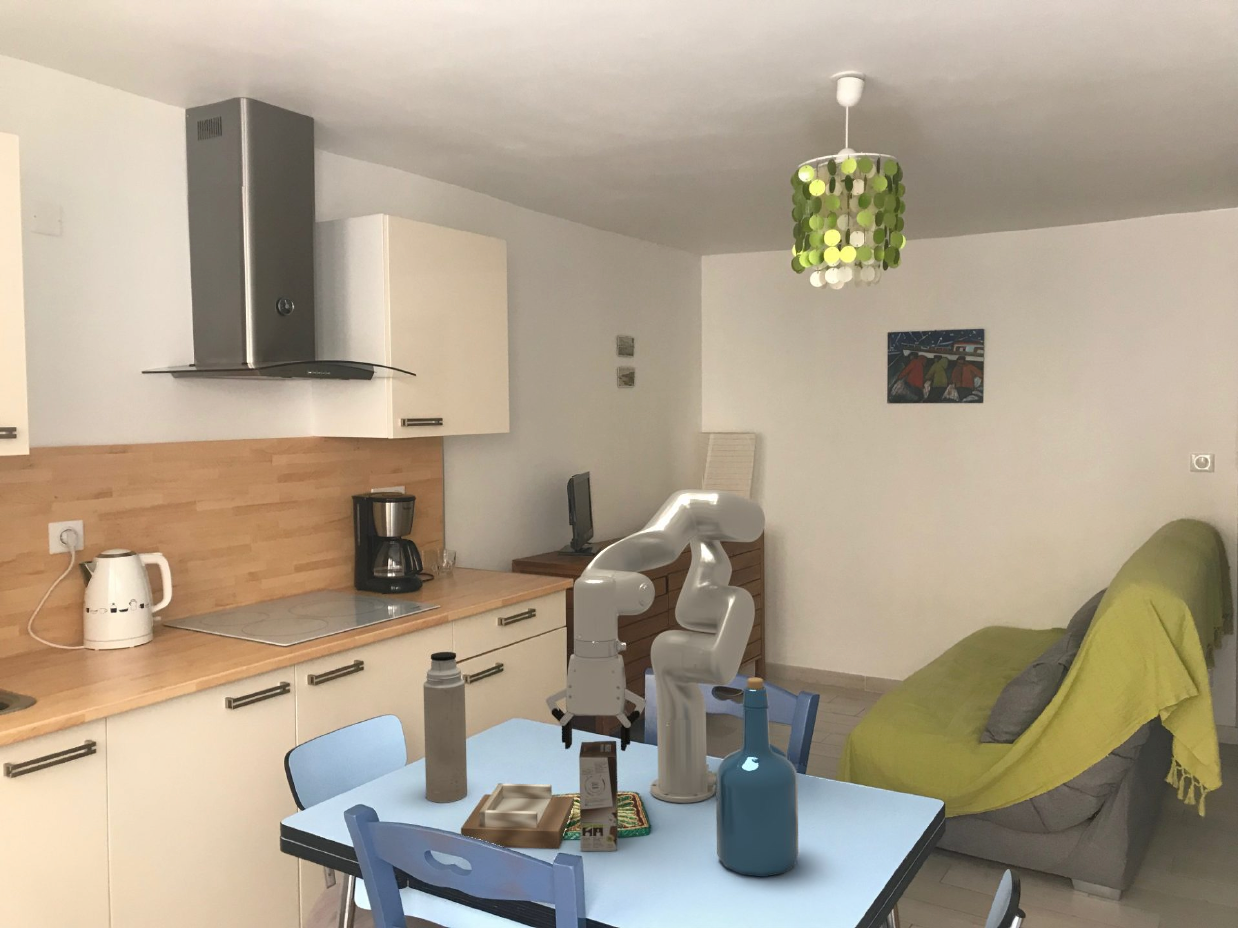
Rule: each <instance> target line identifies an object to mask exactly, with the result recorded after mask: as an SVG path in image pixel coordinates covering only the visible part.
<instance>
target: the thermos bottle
mask: <svg viewBox="0 0 1238 928" xmlns="http://www.w3.org/2000/svg"><path fill="white" fill-rule="evenodd" d="M456 658H457V653H456V652H453V651H439V652H435V653H432V654H430V659H431V662H430V665H431V666H430V668H429V669H428V670H427V671H426V677H425V679H426V681H425V682H423V720H424V722H423V724H424V725H423V726H424V727H423V728H424V759H425V760H424V764H425V765H424V766H425V767H424V769H425V799H426V800H428V801H430V802H433V803H439V804H440V803H442V804H443V803H451V802H457V801H460V800H462V799H464V798H465V797H467V795H468V777H467V776H468V772H467V771H468V770H467V768H468V767H467V766H468V765H467V729H466V728H467V725H466V724H467V723H466V721H467V720H466V717H467V716H466V681H465V680H464V679H463V678H462V674H463V673H462V669H461V668H459V667H458V666H457V660H456Z"/></svg>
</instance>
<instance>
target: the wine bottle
mask: <svg viewBox="0 0 1238 928" xmlns="http://www.w3.org/2000/svg"><path fill="white" fill-rule="evenodd" d="M741 708H742V709H743V710H742V711H743V715H742V746H741V747H740V748H739V749H738V750H735V751H732V752H730V753H729V754H727V755H726V756H725V757H724V758H723V760H722V761H721V763H720V764H719V766H718V768H717V770H716V772H715V773H716V785H715V806H716V807H715V808H716V809H715V811H716V813H715V814H716V817H715V818H716V820H715V821H716V854H717V857H718V860H719V861H720V862H721V863H722V864H723V867H725V868H727V869H729V870H731V871H734V872H735V873H739V874H741V875H749V876H756V877H757V876H758V877H764V876H774V875H781V874H784V873H785V872H787V871H789V870H791V869H793V868H794V867H795V866H796V863H797V860H798V855H799V799H798V796H799V795H798V793H799V792H798V791H799V787H798V785H799V784H798V773H797V770H796V767H795V766H794V764H793V763H792V762H791V760H789V759H787V758H788V757H787V754H786V753H785V752H784V751H782V750H781V749H779V748H777V747H776V746H774V745H772V744H770V741H771V740H770V727H769V724H770V723H769V708H770V705H769V696H768V689H767V687H766V686H765V685H764V679H763V678H761V677H749V678H748V679H747V681H746V685H745V686H744V687H743V695H742V705H741Z"/></svg>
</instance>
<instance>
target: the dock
mask: <svg viewBox="0 0 1238 928" xmlns="http://www.w3.org/2000/svg"><path fill="white" fill-rule="evenodd" d="M552 793H553V792H552V784H541V783H540V784H536V783H534V784H532V783H498V784H497V786H496V787H495V788H494V790H493V791H492V792H491V794H486V793H485V794H484V795H483V796H482V797H481V799H480V800H479V802H478V803H477V805H476V806H475V807H474V809H473V810H472V812H471V813H470V815H469V816H468V817H467V819H466V820H465V822H464V823H463V825H462V826H461V828H460V835H461V834H462V835H464V836H469V837H473V838H476V839H481V840H483V841H487V842H489V843H494V844H496V845H500V846H504V847H503V848H517V849H518V848H521V849H522V848H524V849H525V848H526V849H527V848H528V849H549V850H550V849H551V850H553V849H554V850H555V849H556V850H559V849H560V848H561V847H560V846H561V845H562V843H563V840H562V838H563V833H564V830H565V828H566V825H567V822H568V819H569V816H570V814H571V810H572V808H573V806H574V807H575V797H574V796H562V795H560V796H557V795H556V796H555V795H552ZM563 839H564V838H563Z"/></svg>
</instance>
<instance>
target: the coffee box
mask: <svg viewBox="0 0 1238 928" xmlns="http://www.w3.org/2000/svg"><path fill="white" fill-rule="evenodd" d="M617 754H618V753H617V740H598V741H597V740H596V741H581V743H580V749H579V756H578V759H579V760H578V762H579V765H578V766H579V823H580V824H579V827H580V828H579V829H580V852H584V851H585V852H596V851H597V852H615V851H617V850H618V849H617V848H618V834H619V800H618V799H619V798H618V796H619V794H618V793H619V791H618V787H619V786H618V783H619V782H618V755H617Z"/></svg>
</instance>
